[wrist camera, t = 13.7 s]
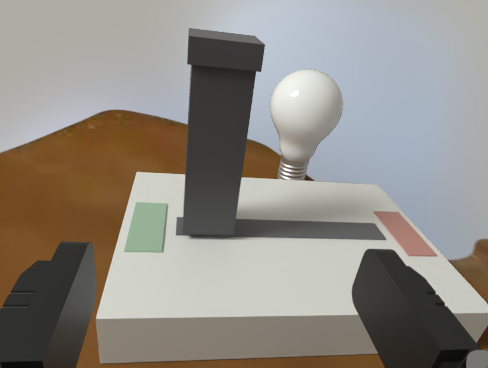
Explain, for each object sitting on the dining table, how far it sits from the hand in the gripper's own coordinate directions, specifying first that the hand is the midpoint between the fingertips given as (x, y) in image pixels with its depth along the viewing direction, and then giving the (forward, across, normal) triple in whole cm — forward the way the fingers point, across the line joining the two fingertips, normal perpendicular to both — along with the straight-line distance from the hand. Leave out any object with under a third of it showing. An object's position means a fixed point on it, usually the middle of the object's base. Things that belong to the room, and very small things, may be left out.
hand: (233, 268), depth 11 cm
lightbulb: (+23, -9, +9) cm, 26 cm away
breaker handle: (+10, 0, +6) cm, 12 cm away
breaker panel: (+10, -5, +9) cm, 15 cm away
